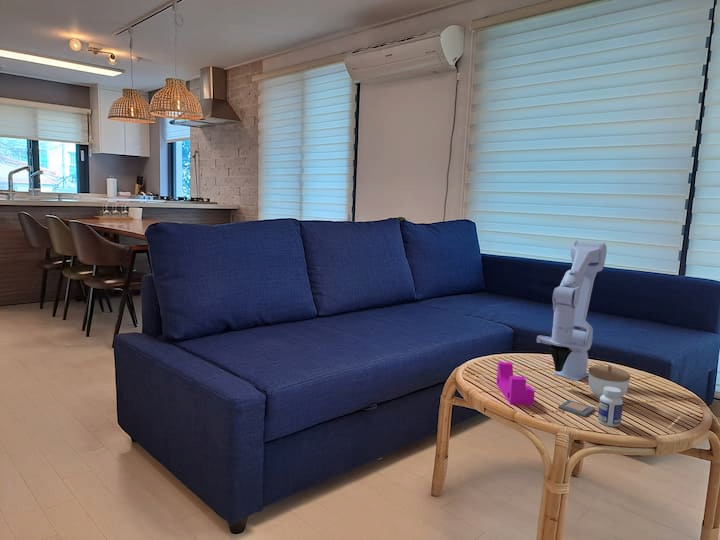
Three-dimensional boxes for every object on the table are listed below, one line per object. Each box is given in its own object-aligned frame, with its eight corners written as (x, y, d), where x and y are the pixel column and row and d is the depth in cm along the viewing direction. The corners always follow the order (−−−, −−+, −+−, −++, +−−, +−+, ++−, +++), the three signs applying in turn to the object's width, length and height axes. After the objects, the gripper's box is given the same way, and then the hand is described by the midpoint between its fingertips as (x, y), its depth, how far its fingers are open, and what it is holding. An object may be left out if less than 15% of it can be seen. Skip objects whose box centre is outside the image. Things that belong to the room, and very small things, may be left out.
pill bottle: (618, 420, 130) (622, 387, 129) (622, 428, 126) (626, 394, 124) (596, 416, 132) (599, 384, 131) (598, 424, 127) (602, 390, 126)
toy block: (533, 406, 137) (535, 380, 136) (509, 405, 137) (512, 379, 136) (517, 386, 152) (519, 362, 151) (496, 385, 152) (498, 361, 151)
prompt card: (568, 402, 141) (569, 399, 141) (594, 410, 137) (594, 407, 136) (558, 408, 136) (558, 405, 136) (584, 417, 132) (584, 414, 131)
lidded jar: (577, 392, 149) (581, 361, 148) (605, 389, 153) (608, 359, 152) (607, 406, 139) (611, 373, 138) (636, 402, 143) (639, 370, 142)
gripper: (533, 323, 153) (529, 367, 155) (582, 334, 143) (577, 380, 145) (544, 320, 158) (540, 362, 160) (591, 330, 148) (587, 374, 150)
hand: (558, 370), depth 153 cm, fingers closed
